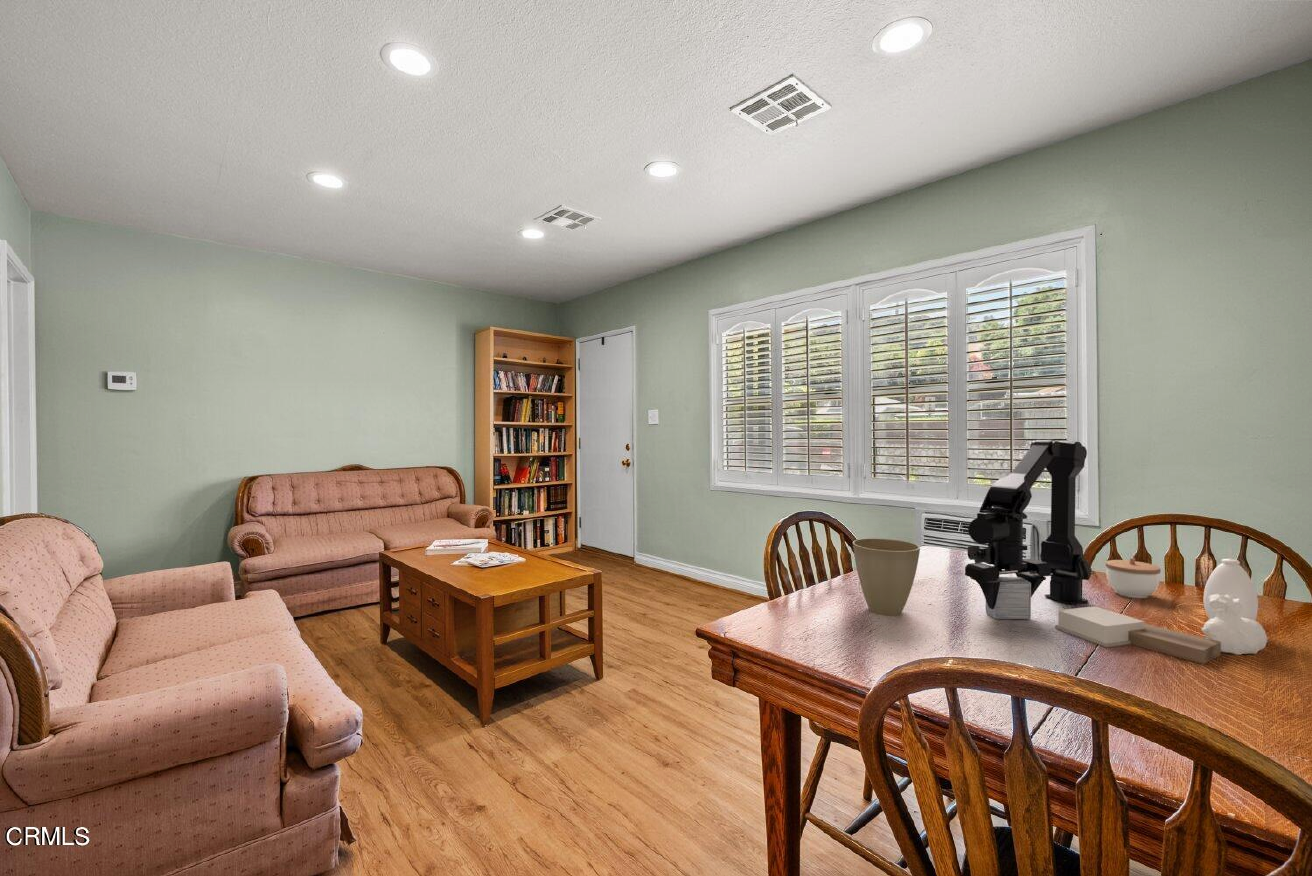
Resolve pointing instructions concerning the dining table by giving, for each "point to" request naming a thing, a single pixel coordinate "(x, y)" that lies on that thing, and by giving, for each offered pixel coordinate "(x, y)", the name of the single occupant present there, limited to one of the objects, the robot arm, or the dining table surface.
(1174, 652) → the grey-brown long grooved block
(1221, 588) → the sauce bottle
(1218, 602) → the duck figurine
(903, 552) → the plant pot
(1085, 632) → the block
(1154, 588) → the lidded jar
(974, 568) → the robot arm
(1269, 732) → the dining table surface
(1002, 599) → the medicine box
